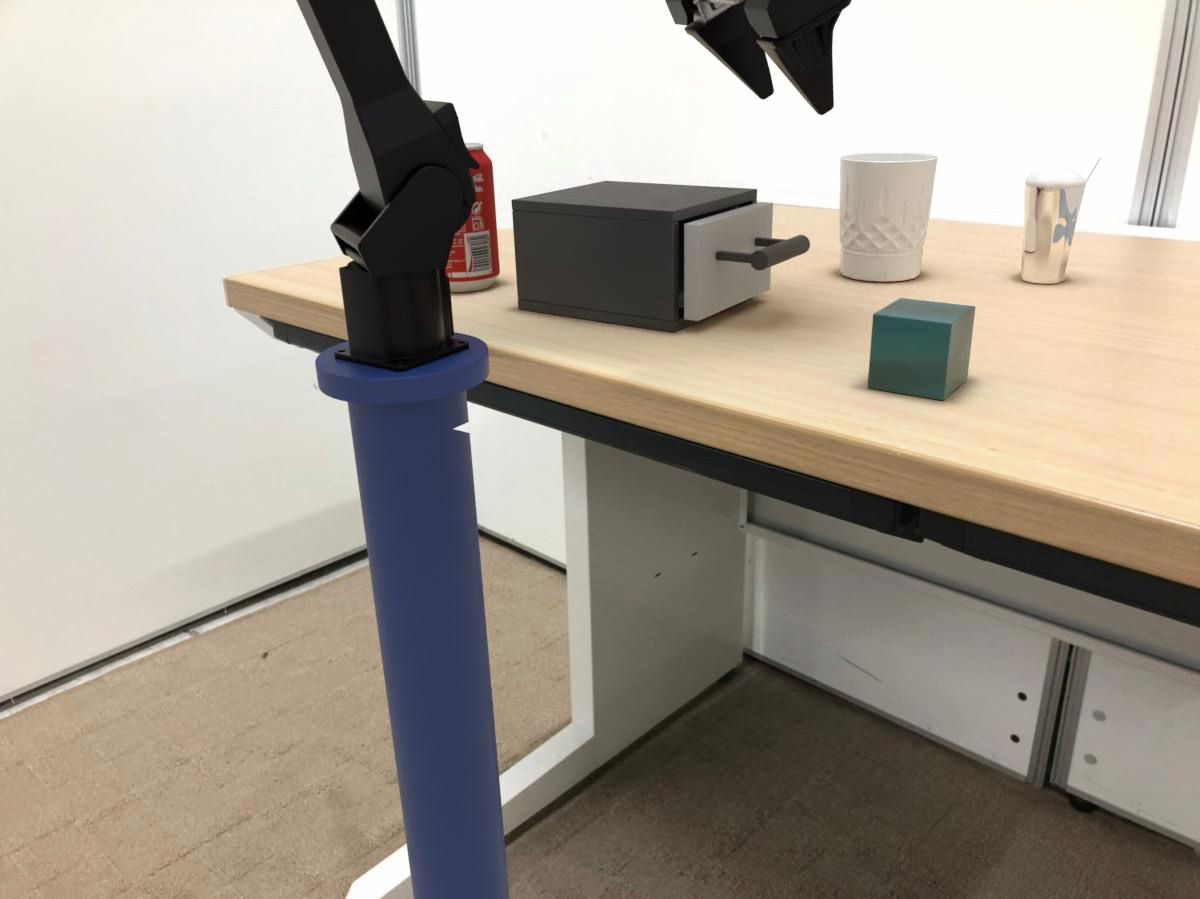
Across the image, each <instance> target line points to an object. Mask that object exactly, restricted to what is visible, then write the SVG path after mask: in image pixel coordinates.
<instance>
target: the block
mask: <svg viewBox="0 0 1200 899" xmlns="http://www.w3.org/2000/svg"><path fill="white" fill-rule="evenodd" d="M975 316H976V306H975V305H967V304H958V303H950V302H940V301H931V300H922V299H915V298H905V297H900V298H898V299H896V300H895V301H893V302H891V303H889V304H887V305H886V306H884V307H882V308H881V309H879V310H877V311H875V312H874V313H873V314H872V322H871V324H872V325H871V337H870V349H869V350H870V351H869V366H868V375H867V376H868V377H867V388H868V389H873V390H877V391H884V392H890V393H895V394H902V395H907V396H908V395H909V396H914V397H920V398H927V399H932V400H939V401H945V400H946V399H947V398H948V397H949V396H950V395H951V394H952V393H954V392H955V391H956V390H957V389H958V388H960V386H961V385H963V383H965V382H966V381H967V380H968V377H969V376H968V375H969V368H970V358H971V349H972V341H973V331H974V324H975Z"/></svg>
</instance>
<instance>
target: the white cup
mask: <svg viewBox="0 0 1200 899" xmlns="http://www.w3.org/2000/svg"><path fill="white" fill-rule="evenodd" d="M839 159H840V160H839V212H838V213H839V215H838V216H839V217H838V218H839V220H838V221H839V243H840V245H841V246H840V254H839V255H840V256H839V257H840V261H839V267H840V268H839V271H840V274H841V275H842V276H843V277H846V278H849V279H853V280H857V281H866V282H878V283H881V282H882V283H883V282H884V283H885V282H887V283H889V282H903V281H909V280H912V279H913V280H914V279H915V278H917V277H918V276H919V275H920V274H921V270H922V269H921V268H922V262H923V261H922V260H923V253H924V248H923V247H924V245H925V243H926V239H927V234H928V224H929V221H930V215H931V208H932V201H933V192H934V185H935V178H936V172H937V164H938V156H937V155H936V154H931V153H924V152H906V151H877V152H876V151H875V152H874V151H873V152H872V151H871V152H857V153H848V154H844V155H842V156H840V158H839Z"/></svg>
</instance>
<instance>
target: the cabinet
mask: <svg viewBox="0 0 1200 899" xmlns="http://www.w3.org/2000/svg"><path fill="white" fill-rule="evenodd" d="M755 203H758V189H757V188H749V187H730V186H729V187H726V186H711V185H710V186H709V185H695V184H694V185H693V184H675V183H674V184H673V183H654V182H638V181H636V182H635V181H617V180H602V181H598V182H597V181H596V182H592V183H588V184H582V185H577V186H573V187H572V186H571V187H567V188H563V189H557V190H553V191H548V192H543V193H542V192H541V193H538V194H533V195H528V196H524V197H517V198H512V199H511V213H512V214H511V215H512V230H513V231H512V232H513V243H514V244H513V245H514V259H515V260H514V262H515V276H516V277H515V278H516V294H517V307H518V310H522V311H530V312H534V313H535V312H536V313H543V314H549V315H556V316H561V317H569V318H575V319H581V320H589V321H596V322H603V323H609V324H616V325H622V326H629V327H636V328H642V329H649V330H656V331H662V332H669V333H675V332H678V331H679V330H682V329H684V328H686V327H689V326H691V325H693V324H696V323H697V322H699V321H693V320H685V319H684V307H682V308H679V222H678V221H681V220H685V219H688V218H692V217H695V216H699V215H702V214H706V213H710V212H713V211H717V210H720V209H724V208H727V207H731V206H734V205H740V208H741V207H745V206H748V205H752V204H755ZM748 300H749V299H747V300H746V301H748ZM731 307H733V306H731ZM731 307H730V308H731ZM722 311H724V310H722ZM722 311H721V312H722ZM713 315H715V314H713ZM713 315H712V316H713Z"/></svg>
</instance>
